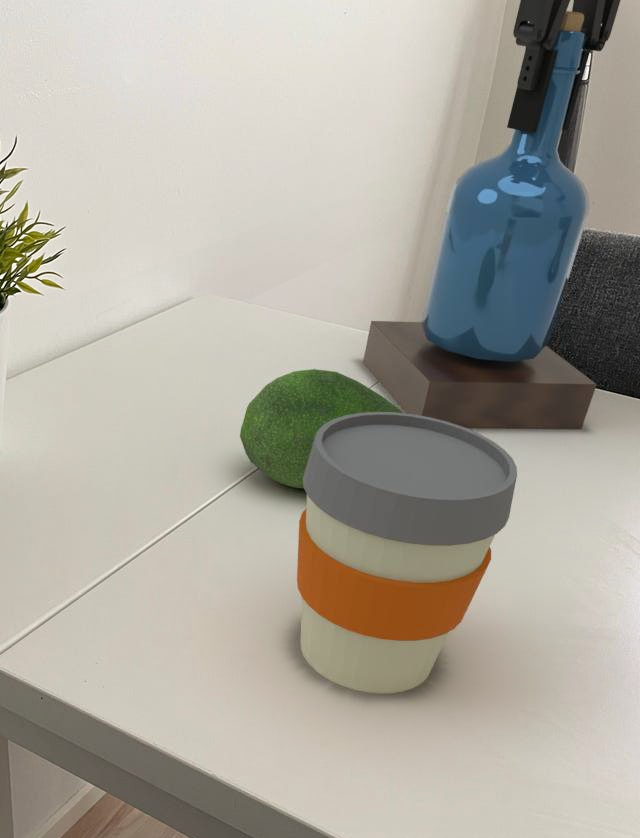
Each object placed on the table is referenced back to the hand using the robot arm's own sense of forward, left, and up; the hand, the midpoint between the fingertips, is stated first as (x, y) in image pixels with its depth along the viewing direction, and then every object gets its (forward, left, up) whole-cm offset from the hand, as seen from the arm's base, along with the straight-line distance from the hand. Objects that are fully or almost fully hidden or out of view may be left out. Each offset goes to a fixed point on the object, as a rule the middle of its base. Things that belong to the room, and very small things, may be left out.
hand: (537, 128), depth 94 cm
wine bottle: (0, 0, -21) cm, 21 cm away
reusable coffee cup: (+27, +46, -27) cm, 60 cm away
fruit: (+23, +21, -27) cm, 41 cm away
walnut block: (0, 0, -26) cm, 26 cm away
